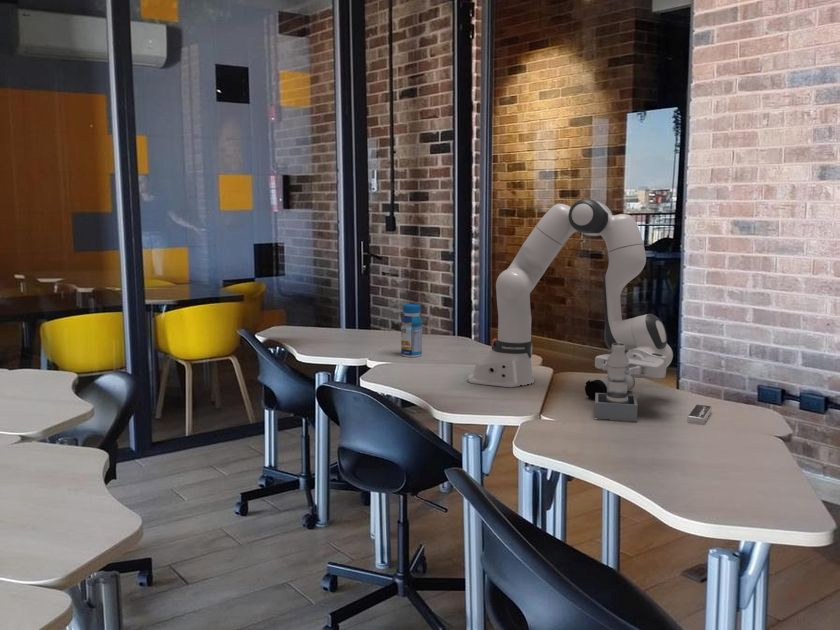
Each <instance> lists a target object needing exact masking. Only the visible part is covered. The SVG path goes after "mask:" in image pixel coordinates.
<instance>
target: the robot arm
mask: <svg viewBox="0 0 840 630" xmlns="http://www.w3.org/2000/svg"><path fill="white" fill-rule="evenodd" d="M577 232H578V233H581V234H583V235H585V236H588V237H590V236H591V237H595V238H598V237H599V238H601V237H602V238H603V240H604V242H605V246H606V250H607V255H608V266H607V270H606V272H605V273H604V275H603V279H602V292H603V305H604V306H603V308H604V309H603V310H604V312H603V313H604V332H603V334H604V336H603V337H604V338H603V340H604V342H605V345H606V347H607V348H608V349H609V350H611V348H612V344H613V343H623V344H625V351H624V353H625V355H626V356H627V358H628V359H629V368H627V369H626V372H625V373H626V374H628V375H630V376H632V377H634V378H635V379H641V378H645V379H646V378H650V379H665V378H666V375H667V374H666V373H667V368H668V367H669V366H670V365H671V363H672V361H673V357H674V352H673V349H672V348H671V347H670V345H669V344H668V335H667V334H668V333H667V329H666V326H665V324H664V322H663V321H662V320H661V319H660V318H659V317H658V316H657V315H654V314H653V313H647V314H643V315H638V316H635V317H632V318H627V319H623V317H622V303H621V293H622V291H623V289H624V288H625V287H626V285H628V283H630V282H631V281H633V279H635V278H636V277H638V275H640V274H641V272H642V271H643V269H644V267H645V266H646V264H647V263H646V262H647V254H646V250H645V244H644V241H643V237H642V234H641V231H640V229H639V225H638V224H637V222H636V220H635V218H634V217H633V216H632V215H630V214H625V213H619V214H615V215H614V212H613V211H612V209H611V208H610V207H609V206H608V205H605V203H603V202H601V201H598V200H594V199H591V198H583V199H582V198H581V199H579V200H576V201H575V202H574V203H573V204H572V205H571V206H570V205H567V204H565V203H555V204H554V205H553V206H551V208H550V209H549V210H548V211H547V212H546V213H545V214H544V215H543V216H542V217H541V219H539V221H538V222H537V223H536V225H535V226H534V228H533V229H532V230H531V232H530V234H529V235H528V236H527V238H526V240H525V241H524V242H523V244H522V245H521V247H520V248H519V251H518V252H517V254H516V255H515V257H514V259H513V260H512V262H511V263H510V265H509V266H508V267H507V269H505V270H503V271H502V272H500V273H499V275H498V277H497V279H496V282H495V290H496V291H495V292H496V306H497V316H498V317H497V318H498V319H497V338H496V337H495V338H493V339H491V350H490V351H489V352H488V353H485V355H483V356H481V357H480V358H479V359H478V360H477V362H476V363H475V367H474V371H473V372H472V373H470V374H469V375H468V376H467V382H469V384H477V385H485V386H486V385H487V386H493V387H494V386H495V387H503V388H516V387H520V385H522V386H528V385H527V384H529V385H531V383H532V384H534V383H535V379H534V375H533V368H532V356H533V341H532V337H531V336H532V312H531V293H532V291H533V290H534V288H535V287H536V286H537V284H538V282H540V279H542V277H543V275H544V274H545V273H546V271H547V269H548V268H549V266H550V265H551V263H552V262H553V261H554V260H555V258H556V257H557V255H558V254H559V253H560V251H561V250H562V248H563V247H564V245H565V244H566V243H567V241H568V240H569V238H570V237H571V236H572V235H573V234H574V233H577ZM610 354H611V353H610ZM610 354H609V353H607V354H605V353H604V354H599V355H596V357H595V358H594V367H595V368H596V369H599V370H602V371H605V372H607V364H606V361H607V358H608V357H609V355H610ZM533 382H534V383H533Z"/></svg>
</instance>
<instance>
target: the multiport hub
mask: <svg viewBox="0 0 840 630" xmlns="http://www.w3.org/2000/svg"><path fill="white" fill-rule="evenodd" d="M710 413H711V414H712V406H711V405H704V404H696V405H694V407H693V408H692V410H690V413H688V414H687V419H686V423H687V422H688V423H687V424H693V423H697V424H696V425H700V424H705V423H706V422H707V420H708V419H707V418H709V417H710V416H711V414H710ZM709 415H710V416H709ZM708 416H709V417H708ZM705 421H706V422H705Z"/></svg>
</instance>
